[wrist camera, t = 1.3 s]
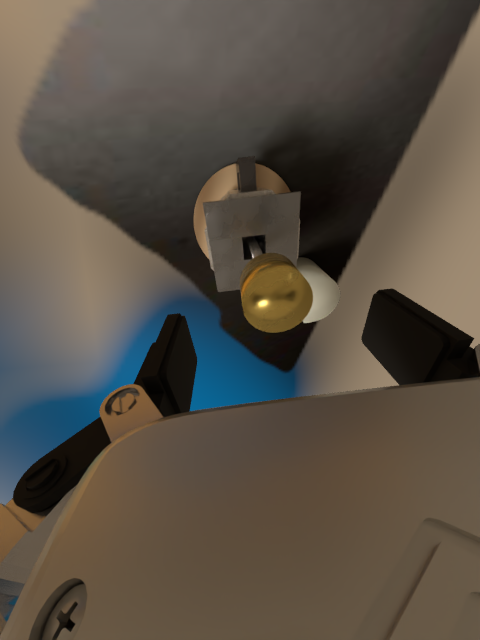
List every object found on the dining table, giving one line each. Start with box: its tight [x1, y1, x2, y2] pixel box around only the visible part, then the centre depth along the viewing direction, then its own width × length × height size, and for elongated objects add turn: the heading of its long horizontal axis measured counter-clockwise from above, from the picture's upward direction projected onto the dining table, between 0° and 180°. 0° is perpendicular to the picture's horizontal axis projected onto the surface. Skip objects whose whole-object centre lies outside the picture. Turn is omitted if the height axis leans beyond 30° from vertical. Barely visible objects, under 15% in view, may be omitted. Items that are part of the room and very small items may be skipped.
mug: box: [297, 257, 340, 323], centre depth 36 cm, size 8×9×9 cm
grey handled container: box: [203, 156, 301, 292], centre depth 27 cm, size 10×13×13 cm
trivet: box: [194, 163, 290, 260], centre depth 33 cm, size 16×16×1 cm
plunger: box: [240, 235, 313, 332], centre depth 19 cm, size 8×8×18 cm
